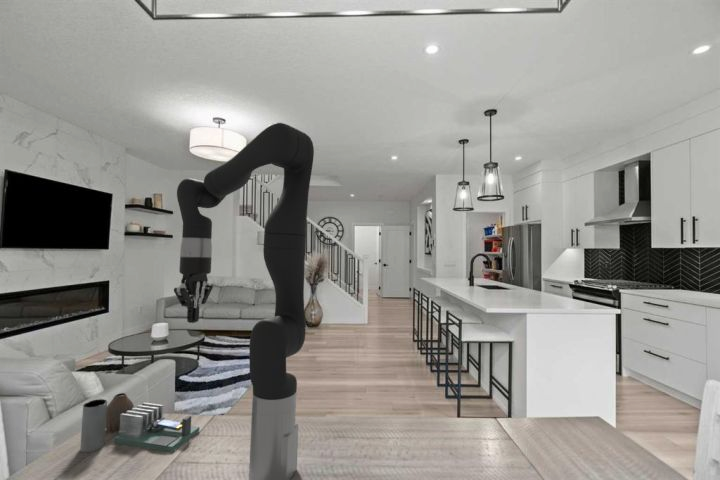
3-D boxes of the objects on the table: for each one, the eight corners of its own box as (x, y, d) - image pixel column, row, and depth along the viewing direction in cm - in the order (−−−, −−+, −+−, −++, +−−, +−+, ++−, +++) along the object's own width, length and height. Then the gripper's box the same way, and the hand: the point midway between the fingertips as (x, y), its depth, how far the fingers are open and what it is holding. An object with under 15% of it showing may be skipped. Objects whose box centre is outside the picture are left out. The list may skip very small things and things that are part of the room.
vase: (117, 436, 89) (120, 401, 89) (95, 433, 90) (97, 398, 91) (140, 424, 95) (142, 391, 96) (118, 421, 97) (120, 388, 97)
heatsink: (169, 424, 93) (170, 405, 94) (145, 439, 85) (146, 418, 86) (144, 421, 95) (145, 402, 95) (118, 435, 87) (119, 414, 87)
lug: (190, 432, 90) (191, 416, 90) (185, 436, 88) (186, 419, 88) (185, 431, 90) (186, 415, 90) (179, 435, 88) (180, 418, 88)
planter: (76, 453, 81) (79, 407, 81) (85, 443, 85) (88, 399, 86) (99, 451, 82) (102, 406, 82) (107, 441, 86) (110, 398, 87)
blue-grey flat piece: (185, 426, 91) (186, 421, 91) (176, 432, 88) (177, 427, 88) (161, 421, 92) (161, 416, 92) (151, 427, 89) (152, 422, 89)
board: (199, 431, 93) (199, 426, 93) (170, 452, 82) (170, 446, 82) (146, 424, 96) (147, 418, 96) (112, 443, 86) (113, 437, 86)
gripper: (192, 255, 86) (188, 327, 85) (223, 256, 99) (220, 318, 98) (165, 255, 88) (161, 325, 87) (199, 255, 100) (196, 317, 100)
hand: (192, 322), depth 92 cm, fingers closed
